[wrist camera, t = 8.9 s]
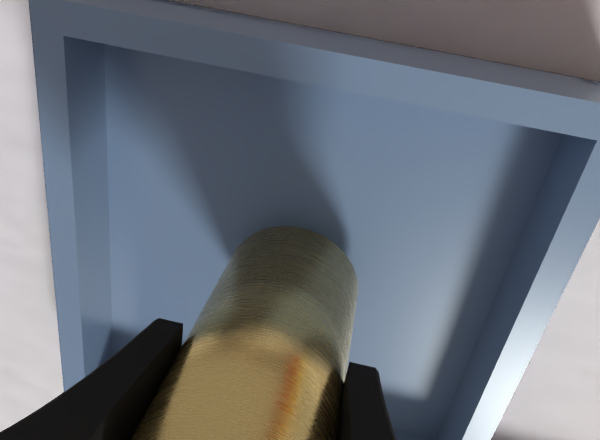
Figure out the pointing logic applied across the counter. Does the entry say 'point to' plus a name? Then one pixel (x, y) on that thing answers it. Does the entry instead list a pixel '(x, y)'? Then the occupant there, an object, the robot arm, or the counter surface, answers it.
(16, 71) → the counter surface
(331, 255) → the pin
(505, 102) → the tray
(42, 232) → the counter surface
